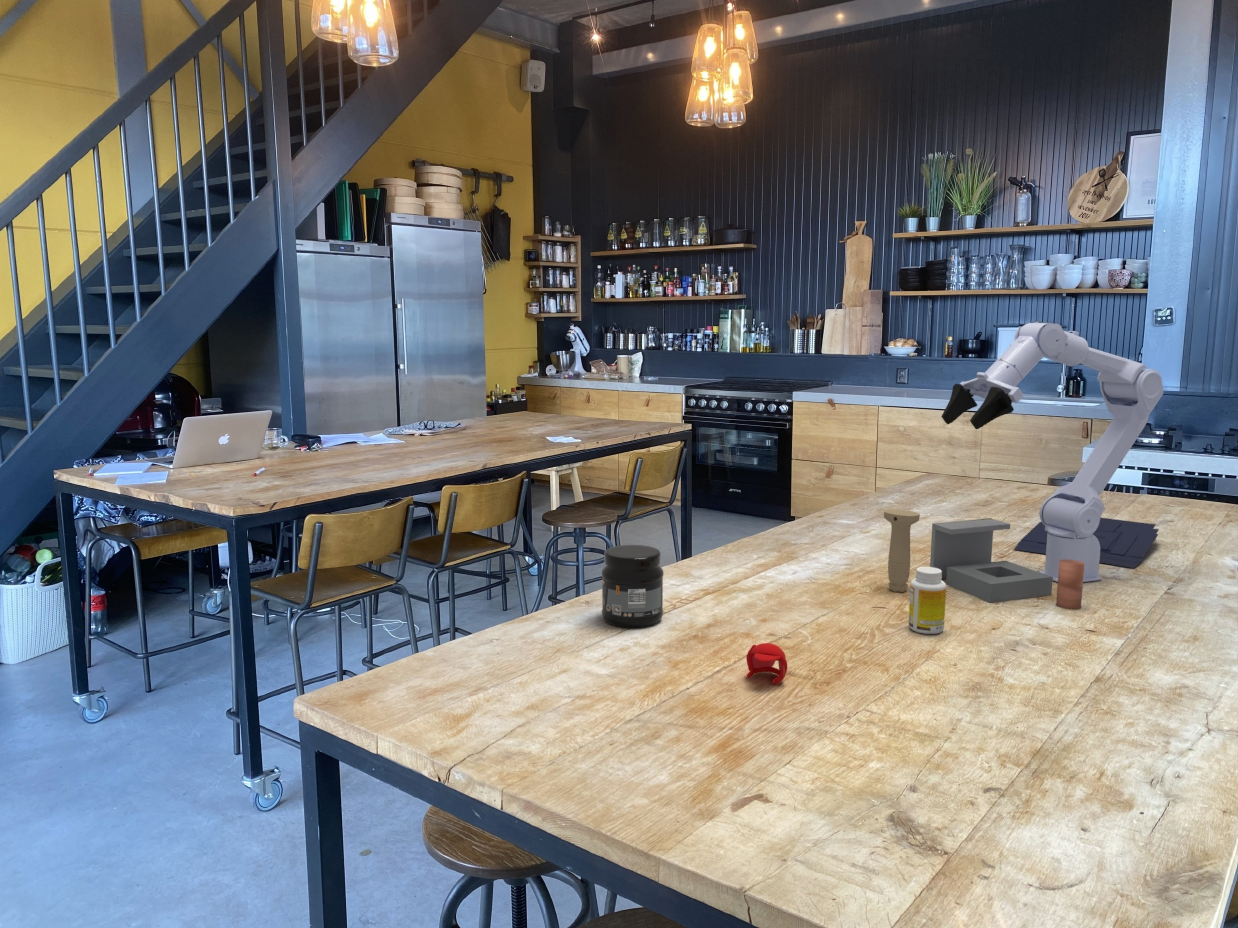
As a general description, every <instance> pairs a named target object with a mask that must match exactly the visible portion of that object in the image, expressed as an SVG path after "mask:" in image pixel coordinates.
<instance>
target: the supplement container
mask: <svg viewBox="0 0 1238 928" xmlns="http://www.w3.org/2000/svg"><path fill="white" fill-rule="evenodd" d="M603 554H604V555H603V556H604V564H605V565H604V566H603V568H602V569H601V574H600V575H601V579H602V580H601V582H602V583H601V586H602V588H601V591H602V593H601V594H602V596H601V597H602V601H601V602H602V606H601V607H602V609H601V616H602V618H603V620H605V621H606V622H607V623H608V624H611V625H612V626H616V627H620V628H626V629H627V628H628V629H629V628H630V629H636V628H646V627H650V626H652V625H655V624H657V623H659V622H660V620H661V619H662V618H663V616H664V615H663V614H664V609H663V607H664V606H663V603H664V601H663V598H664V597H663V596H664V595H663V591H664V590H663V588H664V586H663V585H664V581H663V580H664V578H663V577H664V576H665V575H664V569H663V568H662V567H661V565H660V564H661V560H662V558H661V557H662V556H661V554H662V553H661V551H660V549H658V548H656V547H653V546H649V545H644V544H642V545H641V544H622V545H615V546H612V547H608V548H607V549H606V550H605V551H604V553H603Z"/></svg>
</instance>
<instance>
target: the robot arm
mask: <svg viewBox="0 0 1238 928" xmlns="http://www.w3.org/2000/svg"><path fill="white" fill-rule="evenodd" d="M1079 335H1080V333H1079V332H1078V331H1075V330H1068V331H1066V330H1064V329H1063V327H1062V326H1061V325H1060V324H1059V323H1052V322H1028V323H1025V324H1024V325H1023V326H1018V328H1017V329H1016V331H1015V334H1014V339H1013V341H1012V342H1010V344H1009V347H1008V348H1006V350H1005V351H1004V352H1003V353H1002V354H1001V355H1000V356H998V358H997V359H996V360H995V361H994V362H993V363H992V364H991V365H990V367H989V368H988V369H987V370H985V371H984V372H981V371H978V372H977V373H976V374H975V375H976V377H975V378H973V379H970V380H967V381H961V382H960V383H955V384H954V385H953V386H952V389H951V394H950V398H949V401H948V404H947V405H946V407H945V408H944V411H943V413H942V414H941V419H942V420H943V421H944V423H945V424H946V425H951V424H952V423H954V422H955V421H956V420H957V419H958V418H959V417H960V416H962V415H963V414H964V413H966V412H967V411H969V410H971V409H973V408H976V407H978V403H977V402H976V401H975V399H974V396H977V397H980V398H982V399H984V401H983V402H982V403H981V405H980V407H979V408H978V409H977V410H976V411H975V412H974V414H973V415H972V416H971V418H970V420H969V421H970V423H971V425H972V426H973V427H974V429H975V430H979V429H980V428H983V427H984V426H986V425H987V424H989V423H990V422H992V421H994V420H995V419H998V418H1001V417H1002V416H1005V415H1009V414H1011V413H1013V412H1014V410H1015V409H1014V406H1013V405H1012V404H1013V403H1015V404H1017V403H1018V402H1019V401H1021V399H1022V398H1023V397H1024V396H1025V395H1024V393H1023V392H1022V391H1021V389H1020V387H1017V386H1018V385H1019V384H1020V382H1021V381H1023V379H1024V378H1025V377H1026V376H1027V375H1028V374H1029V373H1030V372H1031V371H1032V369H1034V368H1035V366H1037V364H1038V363H1039V362H1040V361H1041V360H1042V359H1043V358H1045V359H1048V360H1051V361H1053V362H1057V363H1059V364H1062V365H1065V366H1068V367H1075V366H1078V365H1080V364H1081V365H1083V366H1084V367H1088V368H1090V369H1093V370H1095V371H1098V375H1097V378H1096V380H1097V381H1098V382H1099V389H1100V392H1101V396H1102V398H1103V400H1104V403H1105V405H1106V407H1107V410H1108V412H1109V413H1111V415H1112V416H1113V417H1112V418H1113V419H1112V421H1111V422H1110V424H1109V425H1108V427H1107V428H1106V430H1105V431H1104V433H1103V434H1102V436H1101V437H1100V439H1099V440H1098V442H1097V443H1096V444H1095V446H1094V448H1093V450H1092V452H1091V453H1090V454H1089V455H1088V457H1087V459H1086V460H1085V462H1084V463H1083V465H1082V467H1081V468H1080V469H1079V471H1078V473H1077V474H1076V476H1074V479H1073V480H1072V481H1071V482H1070V483H1068V484H1065V485H1062V486H1060V487H1058V488H1056V490H1055V491H1054V492H1053V494H1052V495H1050V496H1049V497H1047V498H1046V499H1045V500H1044V502H1042V504H1041V506H1040V509H1039V519H1040V522H1042V523H1043V524H1044V525H1045V531H1048V533H1047V546H1046V554H1045V561H1044V569H1043V570H1036V571H1037V572H1040V573H1043V574H1046V575H1049V576H1052V577H1053V581H1054V582H1056V583H1058V573H1059V561H1060V560H1076V561H1081V562H1083V563H1084V577H1083V583H1085V582H1086V583H1087V582H1095V581H1101V580H1102V577H1101V576H1099V569H1100V562H1099V559H1100V544H1099V541H1098V539H1097V538H1096V537H1095V536H1094V535H1093V533H1094V532H1095V531H1096V529H1097V528H1098V525H1099V522H1100V518H1102V516H1103V513H1104V512H1105V510H1106V507H1105V504H1104V501H1102V499H1101V497H1100V495H1102V493H1103V491H1104V489H1105V488H1106V487H1107V485H1108V484H1109V482H1110V480H1111V479H1112V477H1113V476H1114V474H1115V472H1117V470H1118V468H1119V466H1120V465H1121V464H1122V462H1123V460H1124V459H1125V457H1126V456H1127V454H1128V453H1129V451H1130V449H1131V448H1132V446H1134V444H1135V442H1136V441H1137V439H1138V437H1139V436H1140V434H1141V433H1142V432H1143V430H1144V429H1145V427H1146V425H1147V422H1148V420H1149V417H1150V414H1151V413H1152V411H1153V410H1154V408H1155V407H1156V405H1157V404H1158V403H1159V401H1160V399H1161V398H1162V396H1163V395H1164V393H1165V392H1164V384H1163V378H1162V376H1161V374H1160V372H1159V371H1158V370H1156V369H1153V368H1148V366H1147V365H1145V364H1144V363H1142V362H1138V361H1135V360H1132V359H1128V358H1125V357H1122V356H1120V355H1117V354H1112V353H1110V352H1105V351H1102V350H1100V349H1096V348H1092V347H1089V344H1088V341H1087V340H1086V338H1084V337H1081V336H1079ZM1146 368H1148V369H1146ZM1053 581H1052V582H1053Z"/></svg>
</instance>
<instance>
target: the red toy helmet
mask: <svg viewBox="0 0 1238 928" xmlns="http://www.w3.org/2000/svg"><path fill="white" fill-rule="evenodd" d="M745 657H746V664H747V669H748V671H749V672H747V674H746V678H747V679H748V680H750V678H752V677H753V676H754V675H756V674H760V673H772V674H775V675H777V677H775V678H774V679H773V680H772V684H773V685H778V684H779V683H780V682H782V681H783V679H784V678H785V676H786V675H787V672H788V662H787V659H786V657H787V656H786V654H785V652H784V650H783V648H781V647H780V646H778V645H777V644H774V643H769V642H763V643H762V642H761V643H759V644H752V646H751V647H750V648H749V650H748V652H747V653H746V656H745ZM776 662H778V668H777V667H774V665H775V663H776Z"/></svg>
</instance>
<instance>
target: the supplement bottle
mask: <svg viewBox="0 0 1238 928" xmlns="http://www.w3.org/2000/svg"><path fill="white" fill-rule="evenodd" d="M942 579H943V578H942V571H941V570H940V569H938V568H934V567H930V566H921V567H917V568H916V571H915V578H913V579H912V580H911V581H910V588H909V589H910V590H909V592H910V593H909V609H908V627H909V628H910V629H911V630H912V631H913V632H915V633H919V634H923V635H924V634H925V635H937V634H940V633H942V632H943V631H944V629H945V617H946V598H947V597H946V596H947V585H946V582H944V581H943V580H942Z"/></svg>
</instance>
